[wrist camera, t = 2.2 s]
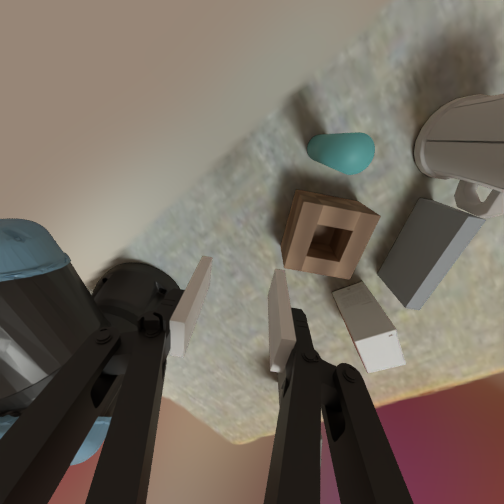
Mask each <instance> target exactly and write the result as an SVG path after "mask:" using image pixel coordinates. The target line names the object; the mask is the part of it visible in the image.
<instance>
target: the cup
mask: <svg viewBox="0 0 504 504" xmlns="http://www.w3.org/2000/svg"><path fill="white" fill-rule="evenodd" d="M414 156H415V162H416V165H417V166H418V168H419V169H420V171H421V172H422V173H424V174H426V175H427V176H429V177H433V178H438V179H445V180H446V179H453V178H455V179H459V180H460V182H459V184H458V187H457V190H456V192H455V195H454V197H455V201H456V204H457V207H459V208H461V209H463V210H465V211H467V212H469V213H472V214H474V215H476V216H478V217H482V218H489V217H495V216H498V215H502V214H504V94H500V95H495V96H488V95H482V94H477V95H472V96H467V97H462V98H457V99H455V100H453V101H451V102H449V103H447V104H445V105H443V106H442V107H441V108H440V109H438V110H437V111H436V112H435V113H434V114H432V115H431V116H430V118H429V119H428V120H427V122H426V123H425V124H424V126H423V127H422V128H421V131H420V133H419V135H418V137H417V140H416V143H415V149H414ZM478 185H481V186H484V187H487V188H490V189H493V190H492V191H491V193H490V194H489V196H488V197H487V199H486V200H485V202H480V199H479V197H478V194H477V191H476V190H477V188H478Z"/></svg>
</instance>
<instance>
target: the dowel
mask: <svg viewBox="0 0 504 504" xmlns="http://www.w3.org/2000/svg"><path fill="white" fill-rule="evenodd" d="M307 153H308V155H309V157H310V158H311V159H313V160H315V161H317V162H319V163H322V164H324V165H326V166H328V167H331V168H333V169H335V170H337V171H340V172H342V173H344V174H348V175H353V174H357V173H360V172H361V171H363V170H364V169H366V168H367V167H368V165H369V164H370V163H371V161H372V159H373V156H374V153H375V146H374V142H373V140H372V139H371V137H370V136H368V135H367V134H365V133H340V134H321V135H316V136H314V137H313V138H312V139H311V140H310V141H309V143H308V146H307Z"/></svg>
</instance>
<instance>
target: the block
mask: <svg viewBox="0 0 504 504" xmlns="http://www.w3.org/2000/svg"><path fill="white" fill-rule="evenodd" d="M380 217H381V216H380V215H378V214H377V213H375V212H374V211H372V210H371V209H369V208H368V207H366V206H365V205H363V204H362V203H360V202H359V201H355V200H349V199H344V198H339V197H334V196H329V195H324V194H318V193H313V192H308V191H303V190H298V189H296V191H295V195H294V198H293V202H292V206H291V209H290V213H289V217H288V220H287V224H286V228H285V231H284V235H283V239H282V242H281V252H282V258H283V264H284V268H287V269H292V270H298V271H304V272H309V273H315V274H321V275H326V276H332V277H338V278H343V279H349V280H350V278H351V276H352V274H353V272H354V270H355V268H356V266H357V264H358V262H359V260H360V258H361V256H362V254H363V252H364V249H365V247H366V245H367V243H368V241H369V239H370V237H371V235H372V233H373V231H374V229H375V227H376V225H377V223H378V221H379V219H380Z"/></svg>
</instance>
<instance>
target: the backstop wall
mask: <svg viewBox="0 0 504 504" xmlns="http://www.w3.org/2000/svg"><path fill="white" fill-rule="evenodd" d="M485 221H486V220H485V219H482V218H480V217H477V216H474V215H472V214H469V213H466V212H463V211H461V210H458V209H455V208H453V207H450V206H447V205H444V204H442V203H439V202H436V201H434V200H429V199H424V198H419V200H418V201H417V203H416V205H415V207H414V209H413V211H412V212H411V214H410V216H409V218H408V220H407V221H406V223H405V225H404V227H403V229H402V230H401V232H400V234H399V236H398V238H397V239H396V241H395V243H394V245H393V247H392V248H391V250H390V252H389V254H388V256H387V258H386V259H385V261H384V263H383V265H382V267H381V268H380V270H379V272H378V274H377V275H378V276H379V277H380V278H381V279H382V281H383V282H384V283H385V284H386V285H387V287H388V288H389V289H390V290H391V291H392V293H393V294H394V295H395V296H396V297H397V299H398V300H399V301H400V302H401V303H402V305H403V306H404V307H405V308H409V309H414V310H420V309H421V308H422V306H423V305H424V304H425V302H426V301H427V299H428V298H429V297H430V295H431V294H432V293H433V291H434V290H435V289H436V287H437V286H438V285H439V283H440V282H441V281H442V279H443V278H444V276H445V275H446V274H447V272H448V271H449V270H450V268H451V267H452V266H453V264H454V263H455V262H456V260H457V259H458V258H459V256H460V255H461V253H462V252H463V251H464V249H465V248H466V247H467V245H468V244H469V243H470V241H471V240H472V239H473V237H474V236H475V235H476V233H477V232H478V231H479V229H480V228H481V226H482V225H483V224H484V222H485Z"/></svg>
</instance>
